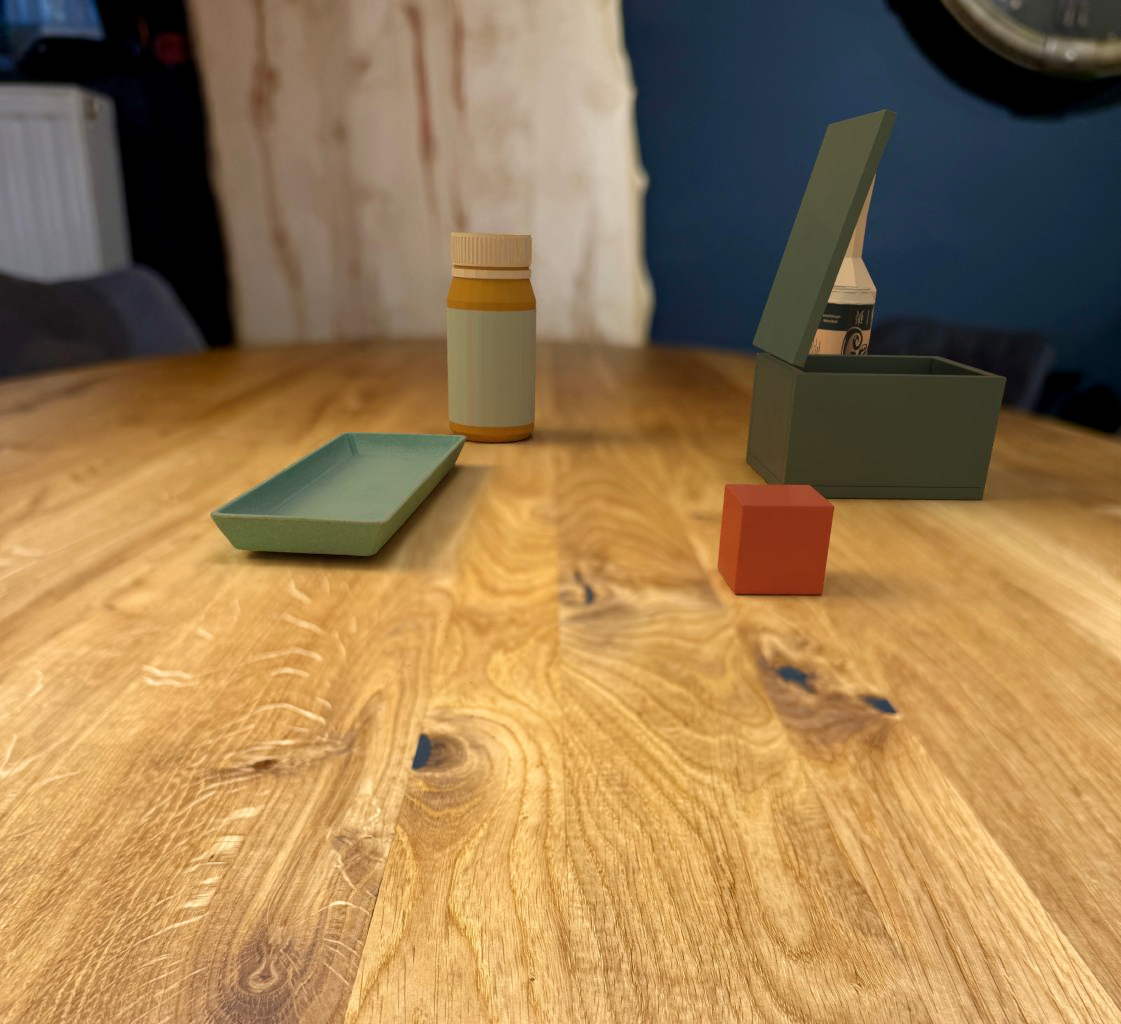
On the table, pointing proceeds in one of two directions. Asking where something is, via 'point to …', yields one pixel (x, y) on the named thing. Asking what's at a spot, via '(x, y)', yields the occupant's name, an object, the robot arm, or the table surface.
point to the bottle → (491, 337)
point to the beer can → (845, 322)
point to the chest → (874, 425)
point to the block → (774, 539)
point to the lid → (822, 234)
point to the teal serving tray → (340, 494)
